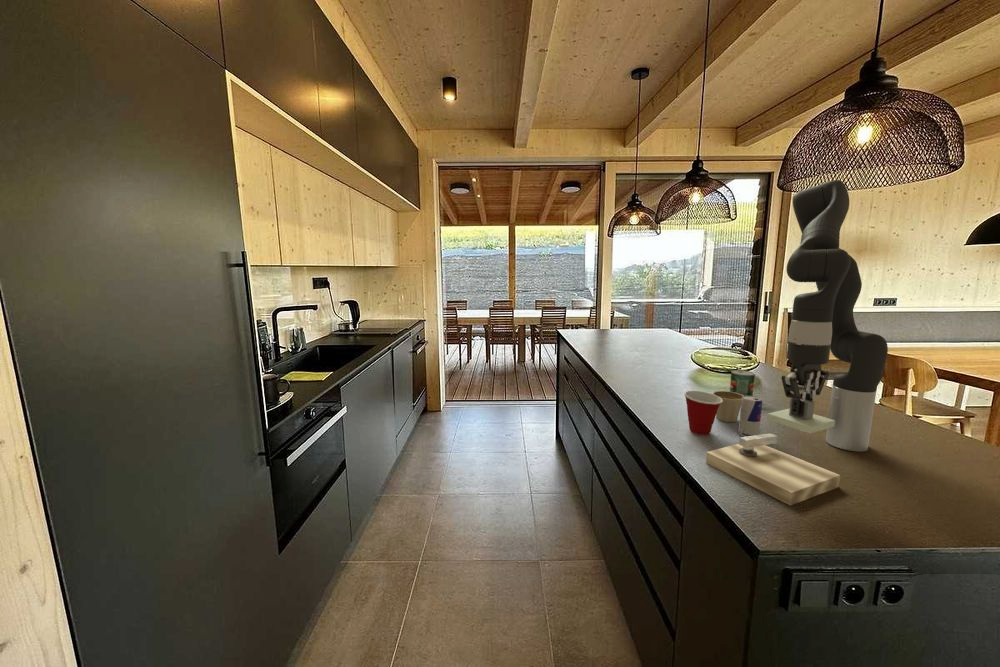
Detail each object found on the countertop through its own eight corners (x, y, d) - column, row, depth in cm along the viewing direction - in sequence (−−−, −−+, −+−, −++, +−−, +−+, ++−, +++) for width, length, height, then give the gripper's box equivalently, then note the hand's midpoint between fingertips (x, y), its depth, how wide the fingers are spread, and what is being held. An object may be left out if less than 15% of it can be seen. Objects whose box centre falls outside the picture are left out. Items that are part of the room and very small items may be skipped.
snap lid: (791, 413, 96) (793, 392, 95) (834, 426, 88) (837, 403, 87) (767, 419, 92) (769, 397, 91) (809, 433, 84) (812, 409, 83)
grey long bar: (738, 449, 103) (739, 437, 102) (768, 445, 105) (769, 432, 105) (745, 453, 100) (747, 440, 100) (776, 449, 103) (777, 436, 102)
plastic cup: (716, 442, 116) (720, 403, 114) (678, 433, 122) (680, 396, 121) (722, 430, 124) (725, 394, 122) (686, 422, 131) (688, 388, 129)
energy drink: (762, 439, 117) (765, 401, 115) (742, 438, 118) (745, 400, 116) (754, 432, 122) (757, 395, 121) (735, 431, 124) (738, 394, 122)
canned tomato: (757, 402, 150) (759, 375, 148) (736, 402, 150) (738, 375, 148) (744, 396, 158) (746, 369, 156) (724, 396, 158) (727, 369, 156)
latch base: (751, 450, 111) (752, 438, 110) (838, 487, 91) (840, 472, 91) (705, 462, 104) (706, 449, 103) (790, 505, 84) (792, 490, 84)
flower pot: (712, 422, 131) (714, 397, 130) (709, 412, 140) (711, 389, 138) (744, 426, 128) (747, 400, 126) (739, 416, 136) (741, 392, 135)
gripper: (809, 335, 93) (801, 405, 96) (771, 340, 88) (764, 414, 90) (847, 340, 86) (837, 415, 89) (808, 346, 81) (800, 425, 84)
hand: (800, 414), depth 90 cm, fingers closed on snap lid, 2 cm apart
